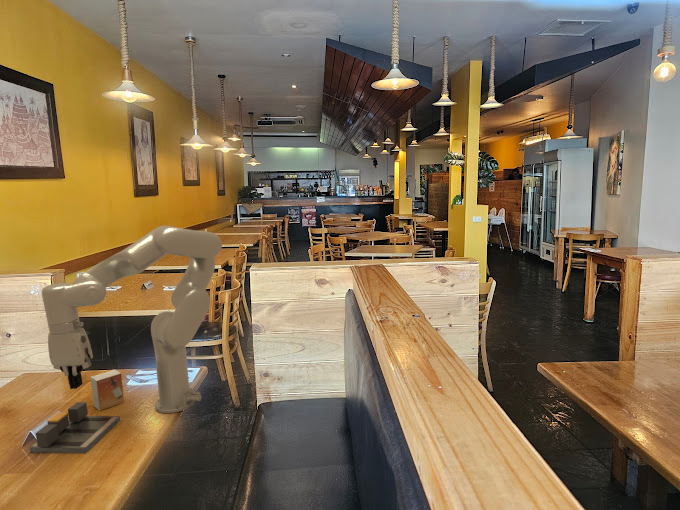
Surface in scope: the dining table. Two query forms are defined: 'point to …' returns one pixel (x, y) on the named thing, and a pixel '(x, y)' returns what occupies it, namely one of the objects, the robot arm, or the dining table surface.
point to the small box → (107, 389)
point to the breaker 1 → (47, 435)
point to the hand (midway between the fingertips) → (76, 386)
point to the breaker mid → (60, 421)
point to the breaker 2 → (77, 411)
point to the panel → (80, 435)
